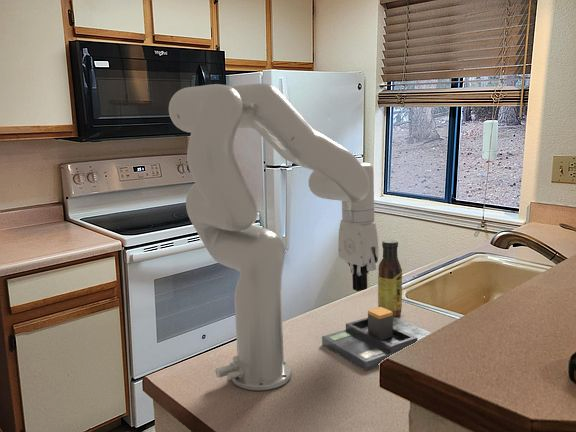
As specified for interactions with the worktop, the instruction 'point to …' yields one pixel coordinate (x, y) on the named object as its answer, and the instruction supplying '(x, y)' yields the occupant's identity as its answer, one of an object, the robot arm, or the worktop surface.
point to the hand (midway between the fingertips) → (360, 289)
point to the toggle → (380, 323)
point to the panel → (371, 342)
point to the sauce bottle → (390, 279)
